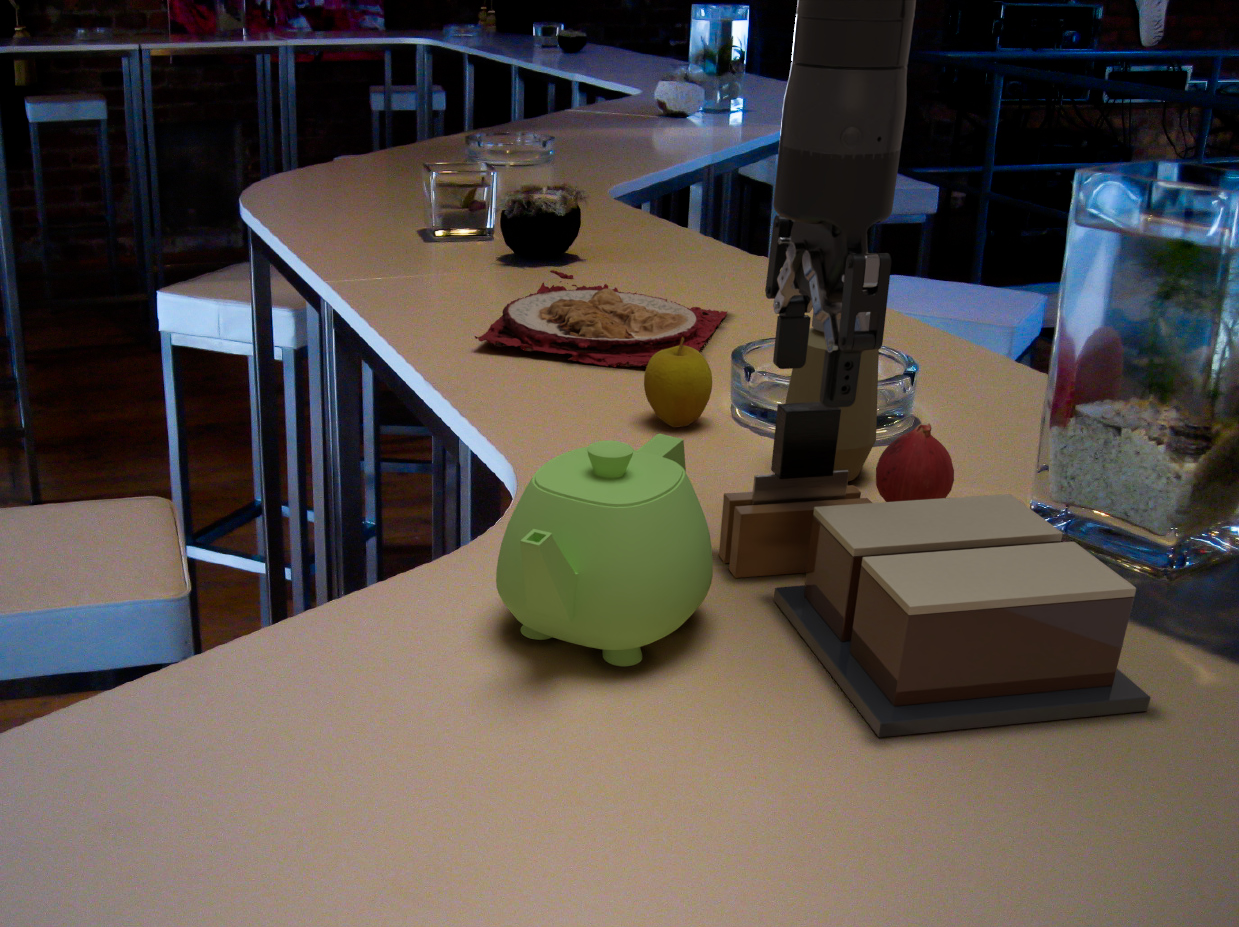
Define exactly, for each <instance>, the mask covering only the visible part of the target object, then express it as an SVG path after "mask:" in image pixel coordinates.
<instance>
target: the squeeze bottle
mask: <svg viewBox="0 0 1239 927" xmlns="http://www.w3.org/2000/svg"><path fill="white" fill-rule="evenodd" d="M865 316H866V323H867V329H868V330H869V320H870V312H868V313H866V315H865ZM837 322H838V329H840V320H837ZM825 350H827V348H826V342H825V336H824V329H823V324H822V322H821V321H819V320H817V319H816V318H815V316H814V312H813V311H812V318H811V327H810V329H809V338H808V347H807V355H806V363H805V365H804V366H803V367H801V368H795V369H791V373H790V379H789V383H788V388H787V393H786V398H785V402H784V404H790V403H809V402H820V399H819V397H820V389H821V381H822V373H823V364H824V356H825ZM879 353H880V349H875V350H867V351H863V352H862V354H861V360H860V368H859V375H858V383H857V390H856V398H855V402H854V403H853V404H852V405H851V406H849V407H839V408H840V409H841V415H840V423H839V431H838V439H837V447H836V455H835V463H834V471H836V470H848V471H849V474H848V482H851V481H853V480H855V479H856V478H857V477H858V476H859V474H860V472H861V471H862V469H863V466H864V465H865V463H866V461H867V459H868V457H869V455H870V453H871V452H872V449H873V447H874V445H875V443H876V442H877V423H878V417H877V416H878V392H879V391H878V390H879V389H878V388H879V357H880V356H879V355H880V354H879Z"/></svg>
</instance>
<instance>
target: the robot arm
mask: <svg viewBox="0 0 1239 927" xmlns="http://www.w3.org/2000/svg"><path fill="white" fill-rule="evenodd" d="M916 5H917V0H797V5H796V6H797V7H796V13H795V16H796V17H795V21H794V22H795V24H794V32H793V43H792V52H791V54H792V55H791V61H792V62H791V63H790V70H789V76H788V80H787V85H786V89H785V93H784V96H783V97H784V98H783V104H782V115H781V125H780V132H779V133H780V134H779V135H780V136H779V144H778V152H777V153H778V155H777V165H776V174H775V184H774V196H773V209H774V211H775V212H776V214H775V216H774V217H773V222H772V230H771V231H772V232H771V240H770V247H769V255H768V264H767V273H766V281H765V289H764V291H765V296H766V299H767V300H773V304H772V308H773V311H774V314H776V315H777V319H776V328H775V338H774V347H773V348H774V349H773V357H772V363H773V364H774V365H775V366H776V367H777V368H778V369H780V370H792V369H795V368H801V367H803V366H804V365H805V363H806V355H807V347H808V338H809V329H810V328H811V321H812V318H811V316H810V315H808V314H810V313H811V312H812V313H813V312H814V316H815V318H816V319H817V320H819V321H821V322H822V324H823V329H824V336H825V342H826V348H827V350H825V356H824V364H823V373H822V381H821V389H820V397H819V399H820V402H821V403H822V404H823V405H825V406H826V407H828V408H834V407H849V406H851V405H852V404H853V403H854V402H855V398H856V390H857V383H858V375H859V368H860V360H861V354H862V352H863V351H867V350H875V349H879V350H881V348H882V347H883V343H884V333H885V325H886V314H887V307H888V299H889V289H890V280H891V273H892V272H891V271H892V257H891V254H890V253H888V252H876V253H875V252H874V253H871V252H870V253H869V248H868V230H869V228H871V227H872V226H873V225H874V224H879V223H882V222H884V221H886V220H888V219H889V218H890V216H891V215H892V213H893V210H894V209H893V208H894V200H895V194H896V187H897V186H896V185H897V180H898V172H899V166H900V158H901V150H902V149H901V148H902V142H903V135H904V127H905V120H906V112H907V104H908V103H907V100H908V99H907V98H908V89H907V88H908V86H907V84H908V83H907V82H908V65H909V60H910V52H911V46H912V37H913V30H914V24H915V17H916V16H915V15H916ZM868 312H870V320H869V330H868V329H867V323H866V316H865V315H866V313H868ZM837 320H840V329H838V322H837Z"/></svg>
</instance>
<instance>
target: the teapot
mask: <svg viewBox="0 0 1239 927" xmlns="http://www.w3.org/2000/svg"><path fill="white" fill-rule="evenodd" d="M686 468H687V467H686V455H685V439H684V438H680V437H675V436H672V435H667V434H664V433H657V434H656V435H654V436H653V437H652V438H650V440H648V441H647V442H645V444H643V445H642V446H641V447H639V448H638V449H637V450H636V449H634V447H633V446H632V445H630V444H628V443H626V442H622V441H619V440H613V439H612V440H611V439H609V440H608V439H607V440H600V441H595V442H593V443H590V444H589V445H588V446H584V447H579V448H575V449H572V450H568V451H566V452H564V453H561V454H559V455H557V456H554V457H553V458H550V459H549V460H548V461H546V462H545V463H544V464H543V465H541V466H540V467H539V469H537V470H536V471H535V473H534V474H533V476H532V477H531V479H530V480H529V482H528V483H527V485H526V487H525V488H524V490H523V493H522V494H521V497H520V498H519V500H518V502H517V504H516V505H515V508H514V510H513V512H512V514H511V516H510V519H509V520H508V523H507V526H506V527H505V528H506V529H505V532H504V534H503V537H502V541H501V544H500V549H499V552H498V558H497V564H496V573H495V575H496V576H495V583H496V584H495V585H496V590H497V593H498V596H499V598H500V599H501V601H502V602H503V605H504V606H505V607H506V608H507V609H508V611H509V612H510V613H511V614H512V615H513V616H514V618H515V619H516V620H517V622H519V623H521V624H522V625H521V627H520V633H521V635H523V636H524V637H525V638H528V639H532V640H537V641H538V640H539V641H542V640H549V639H552V638H554V639H557V640H560V641H564V642H567V643H571V644H575V645H578V646H583V647H587V648H594V649H597V650H602V658H603V660H604V661H605V662H607V663H608V664H610V665H613V666H617V667H631V666H635V665H638V664H639V663H640V662H641V661H642V660H643V653H642V649H641V647H644V646H647V645H650V644H652V643H654V642H657V641H659V640H661V639H663V638H665V637H667V636H669V635H670V634H673V632H675V631H676V630H678V629H679V628H680V627H681V626H682V625H684V624H685V623H686V622H687V620H688V619H690V617H691V616H692V615H693V614H694V613H695V612H696V610H698V609H699V607H700V605H702V603H703V602H704V601H705V598H706V597H707V596H708V593H709V591H710V588H711V585H712V581H713V574H714V573H713V571H714V569H713V567H714V562H713V559H714V558H713V546H712V539H711V533H710V528H709V526H708V521H707V518H706V516H705V512H704V510H703V507H702V505H701V503H700V500H699V498H698V495H697V493H696V491H695V489H694V486H693V484H692V481H691V479H690V478H689V475H688V474H687V470H686Z"/></svg>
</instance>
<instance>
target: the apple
mask: <svg viewBox="0 0 1239 927" xmlns="http://www.w3.org/2000/svg"><path fill="white" fill-rule="evenodd" d="M683 342H684V338H683V337H682V339H681V342H680V346H675V347H672V348H668V349H664V350H661V351H659V352H657V353H656V354H655V355H653V356H652V358H651V359H650V360H649V363H648V365H647V367H645V371H644V376H643V389H644V393H645V396H646V400H647V402H648V403H649V405H650V407H651V408H652V410H653V412H654V413H655V415H656V417H658V418H659V419H660V420H661V421H663V422H664V423H665V424H667V425H669V426H670V427H672V428H680V427H686V426H689V425H690V424H692V423H693V422H696V421H697V420H698V419H699V418H700V417H701V416H702V414H703V413H704V411H705V409H706V407H707V405H708V403H709V400H710V398H711V394H712V391H713V373H712V369H711V367H710V365H709V363H708V360H707V359H706V357H705V356H704V355H703V354H701V352H700V351H699V352H698V351H697V350H695V349H693V348H691V347H688V346H682V344H683Z"/></svg>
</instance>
